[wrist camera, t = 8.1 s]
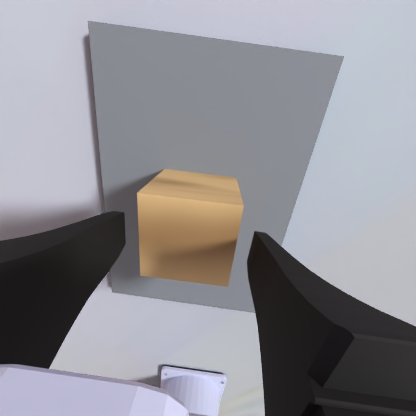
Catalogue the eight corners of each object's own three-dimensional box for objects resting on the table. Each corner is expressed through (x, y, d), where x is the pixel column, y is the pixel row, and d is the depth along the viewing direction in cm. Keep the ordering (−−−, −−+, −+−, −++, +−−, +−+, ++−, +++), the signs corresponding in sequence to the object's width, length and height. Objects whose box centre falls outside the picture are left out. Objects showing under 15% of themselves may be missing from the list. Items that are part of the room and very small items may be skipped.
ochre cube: (226, 238, 16) (228, 286, 11) (163, 231, 16) (140, 275, 11) (236, 177, 14) (243, 205, 9) (164, 168, 14) (137, 192, 9)
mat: (257, 304, 20) (258, 313, 19) (117, 284, 20) (112, 292, 19) (334, 61, 12) (343, 56, 11) (98, 28, 12) (87, 20, 11)
